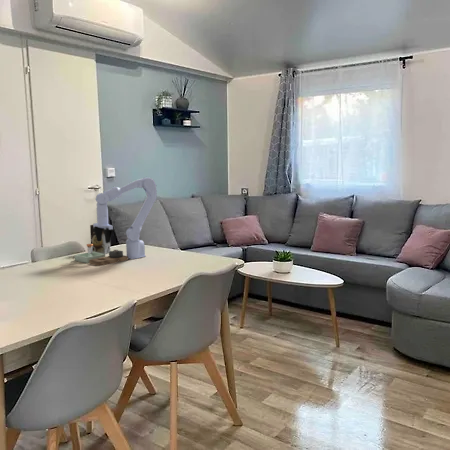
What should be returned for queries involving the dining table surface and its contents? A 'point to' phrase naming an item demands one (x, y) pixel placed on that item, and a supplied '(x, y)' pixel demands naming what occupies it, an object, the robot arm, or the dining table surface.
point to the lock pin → (90, 250)
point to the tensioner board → (109, 258)
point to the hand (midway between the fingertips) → (103, 241)
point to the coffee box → (99, 243)
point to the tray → (85, 258)
